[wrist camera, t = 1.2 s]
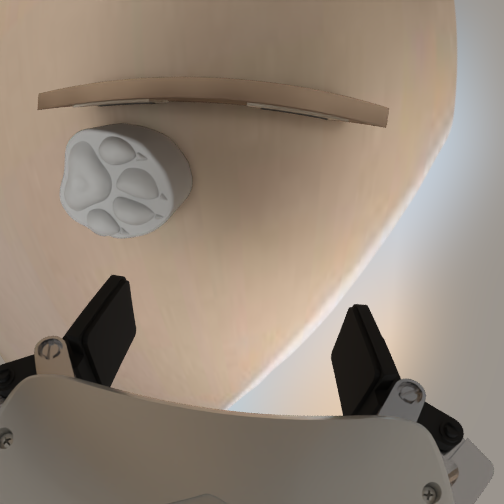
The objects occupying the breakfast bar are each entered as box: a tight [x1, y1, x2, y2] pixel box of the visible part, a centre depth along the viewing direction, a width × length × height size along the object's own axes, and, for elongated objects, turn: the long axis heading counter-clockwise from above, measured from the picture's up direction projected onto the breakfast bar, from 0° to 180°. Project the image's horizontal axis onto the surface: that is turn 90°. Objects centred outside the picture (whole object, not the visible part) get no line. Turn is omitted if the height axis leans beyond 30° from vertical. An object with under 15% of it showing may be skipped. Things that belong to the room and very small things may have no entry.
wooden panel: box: [38, 77, 389, 128], centre depth 22 cm, size 2×28×11 cm, turn 83°
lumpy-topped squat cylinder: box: [60, 123, 192, 238], centre depth 27 cm, size 10×13×9 cm
